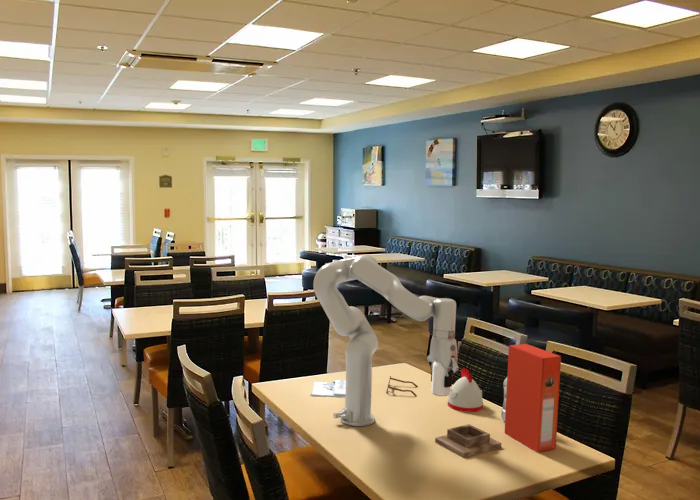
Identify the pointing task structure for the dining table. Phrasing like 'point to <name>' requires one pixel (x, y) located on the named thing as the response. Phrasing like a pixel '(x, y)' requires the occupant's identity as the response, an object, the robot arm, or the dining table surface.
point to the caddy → (467, 441)
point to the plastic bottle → (504, 400)
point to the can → (439, 380)
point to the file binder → (532, 396)
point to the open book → (329, 389)
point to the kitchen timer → (465, 394)
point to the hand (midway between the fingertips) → (441, 383)
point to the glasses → (400, 389)
